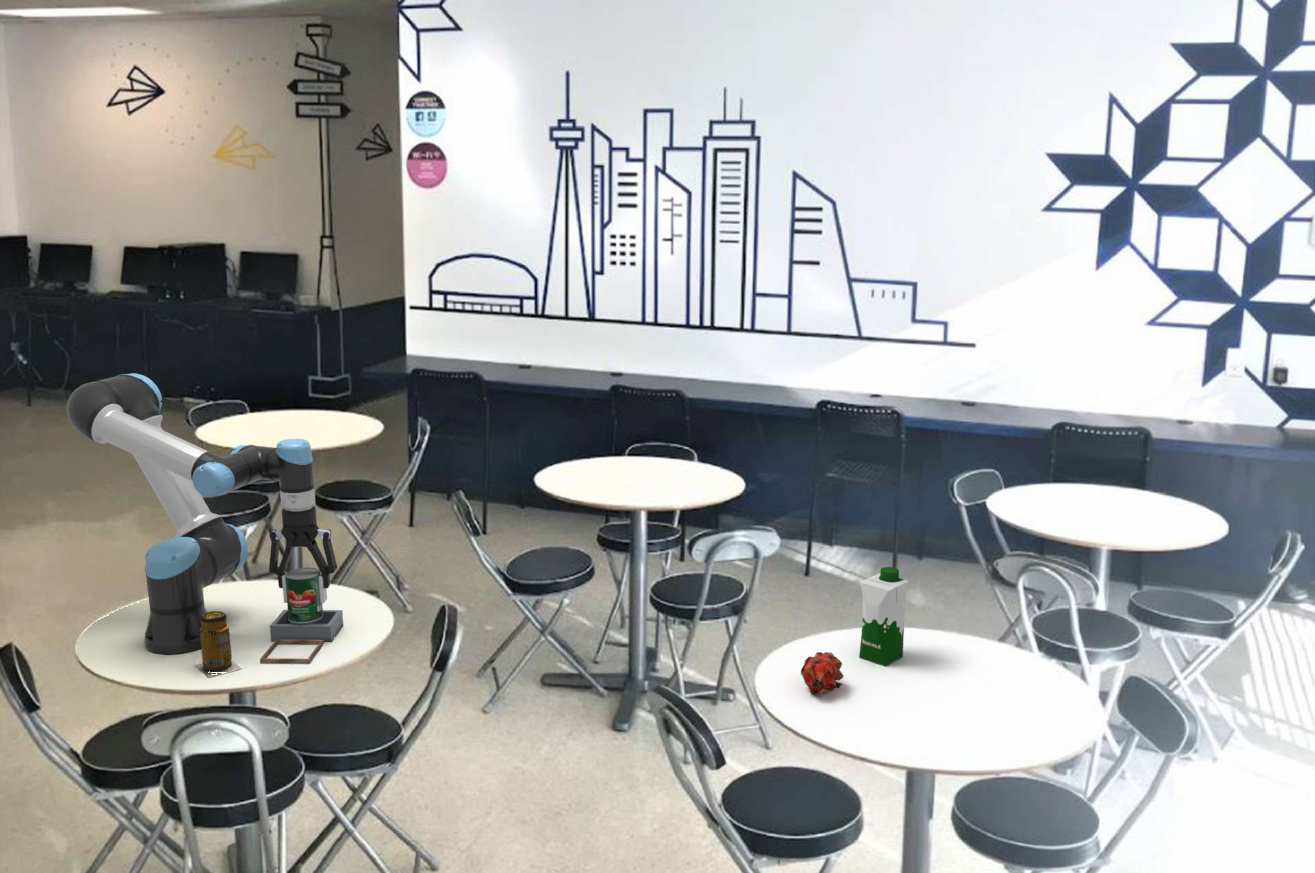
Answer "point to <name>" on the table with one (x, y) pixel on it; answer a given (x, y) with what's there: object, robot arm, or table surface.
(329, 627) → the bin
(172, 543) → the robot arm
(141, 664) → the table surface
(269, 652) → the wooden picture frame
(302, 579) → the canned tomato
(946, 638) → the table surface
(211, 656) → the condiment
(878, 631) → the milk carton
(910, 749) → the table surface
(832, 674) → the dragon fruit
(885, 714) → the table surface
